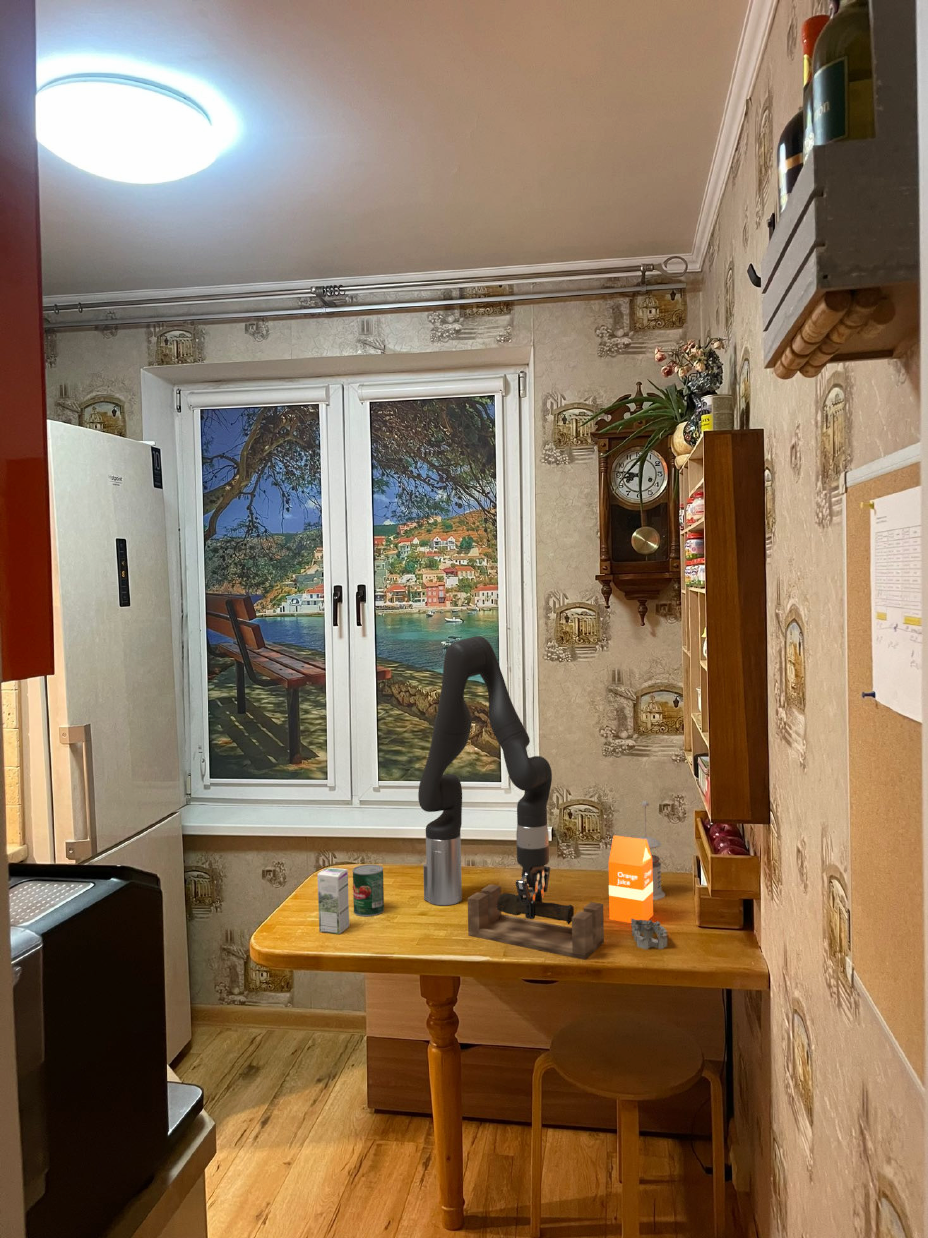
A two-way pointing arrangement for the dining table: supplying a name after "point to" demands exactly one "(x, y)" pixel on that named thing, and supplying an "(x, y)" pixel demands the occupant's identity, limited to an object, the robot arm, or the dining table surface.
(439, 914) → the dining table surface
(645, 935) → the egg carton
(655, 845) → the french press
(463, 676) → the robot arm
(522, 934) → the cradle
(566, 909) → the hand tool
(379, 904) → the canned tomato
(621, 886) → the orange juice
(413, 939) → the dining table surface
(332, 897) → the syrup box
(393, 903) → the dining table surface
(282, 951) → the dining table surface
